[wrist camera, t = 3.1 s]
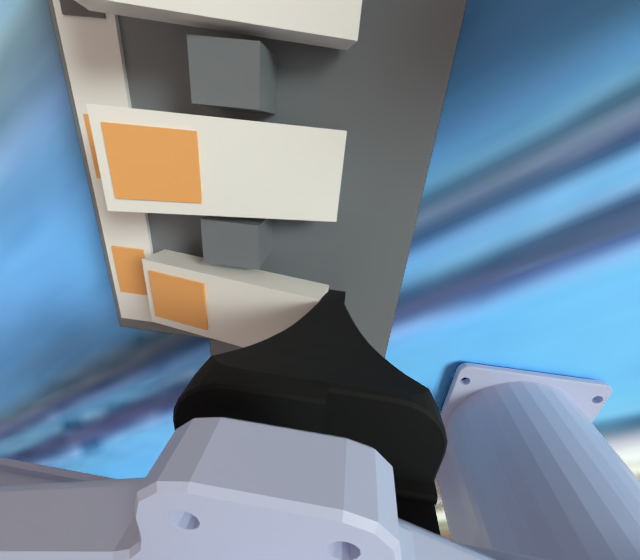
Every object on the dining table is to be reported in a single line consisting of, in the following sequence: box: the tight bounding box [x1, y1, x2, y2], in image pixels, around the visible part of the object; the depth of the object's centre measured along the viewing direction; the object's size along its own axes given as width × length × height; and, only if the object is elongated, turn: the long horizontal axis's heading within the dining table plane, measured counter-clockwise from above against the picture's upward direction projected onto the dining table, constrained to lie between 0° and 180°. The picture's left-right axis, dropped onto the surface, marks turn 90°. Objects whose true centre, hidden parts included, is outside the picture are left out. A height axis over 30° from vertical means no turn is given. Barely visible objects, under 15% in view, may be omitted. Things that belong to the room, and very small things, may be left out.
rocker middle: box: [86, 103, 347, 222], centre depth 10 cm, size 3×7×1 cm, turn 85°
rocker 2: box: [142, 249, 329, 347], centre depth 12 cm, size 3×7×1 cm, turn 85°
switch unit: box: [48, 0, 467, 358], centre depth 12 cm, size 16×13×4 cm
